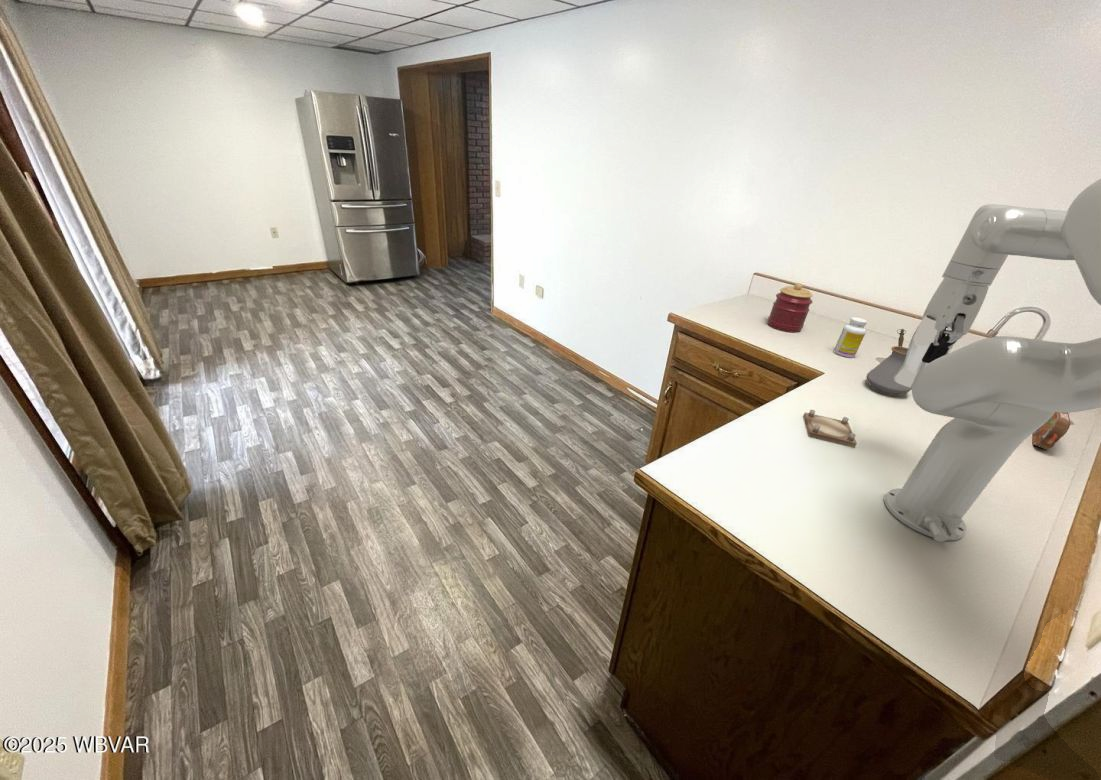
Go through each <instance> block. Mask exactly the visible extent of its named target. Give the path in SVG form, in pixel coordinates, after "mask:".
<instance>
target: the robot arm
mask: <svg viewBox="0 0 1101 780" xmlns="http://www.w3.org/2000/svg"><path fill="white" fill-rule="evenodd" d="M963 233H964V234H963V235H962V237H961V239H960V241H959V243H958V245H957V247H956V249H955V250H954V252H953V254H952V256H951V258H950V260H949V262H948V264H947V266H946V267H945V270H944V272H943V274H942V276H941V278H943V280H941V282H940V283H939V285H938V287H937V289H936V290H935V292H934V293H933V295H932V296H931V298H930V300H929V301H928V304H927V306H926V308H925V310H924V312H923V315H922V319H923V318H924V316H925V315H927V314H928V316H927V317H928V318H930V319H932V320H935V321H936V324H935V329H936V330H937V331H938V332H937V334H936V336H935V340H934V343H933V344H930V345H929V347H928V349H927V351H926V353H925V355H924V356H923V358H922V361H923V362H925V363H929V364H927V365H926V366H925V367H924V368H923V369H922V370H921V371H920V372H919V373H918V374H917V376H916V378H915V379H914V381H913V384H912V390H911V395H912V398H913V401H914V402H915V404H916V405H917V406H918V407H919V408H921V410H923V411H925V412H927V413H930V414H933V415H937V416H943V417H947V418H953V419H950V421H948V422H947V423H945V424H944V425H943V426H942V427H940V429H939V430H938V432H937V433H936V434H935V436H934V438H933V439H932V440H931V442H930V444H929V445H928V446H927V448H926V449H925V451H924V453H923V455H922V456H921V458H920V459H919V461H918V462H917V464H916V465H915V467H914V469H913V470H912V471H911V473H910V475H909V476H908V478H907V479H906V481H905V483H904V484H903V485H902V487H901V488H892V489H890V490H888V491H887V492H886V494H885V496H884V504H885V506H886V507H887V510H889V512H890V513H891V514H892V515H893V516H894V518H896V519H897V520H898V521H900V522H901V523H903V524H904V525H905V526H907V527H908V528H909V529H912V530H914V531H915V532H918V533H920V534H922V535H925V536H928V537H931V538H933V540H935V541H936V542H938V543H939V542H941V543H943V542H945V541H958V540H960V539H961V538H963V536H964V535H965V534H966V533H967V526H966V522H964V520H963V518H964V516H965V515H966V514H967V512H968V511H969V510H970V508H971V507H972V506H973V504H974V503H975V502H976V501H977V499H978V498H979V497H980V495H981V494H982V493H983V492H984V490H985V489H986V487H988V484H989V483H990V482H991V481H992V479H994V477H996V476H995V475H996V474H997V473H998V472H999V471H1000V469H1001V468H1002V467H1003V466H1004V464H1005V463H1006V462H1007V461H1008V459H1009V458H1010V457H1011V456H1012V455H1013V453H1014V452H1015V451H1016V450H1017V449H1018V448H1019V447H1020V446H1021V444H1022V443H1023V442H1025V440H1026V439H1028V438H1029V437H1030V436H1031V435H1032V433H1033V432H1035V431H1036V430H1037V429H1039V428H1040V427H1041V426H1042V425H1043V424H1045V423H1046V422H1047V421H1048V420H1049V419H1050V418H1051V417H1052V416H1053V415H1054V413H1055V412H1063V413H1069V414H1070V413H1079V412H1085V411H1089V410H1095V409H1099V408H1101V337H1098V338H1094V339H1091V340H1088V341H1083V342H1074V343H1070V342H1058V341H1057V342H1056V341H1050V340H1042V339H1035V338H1028V337H1020V336H1011V335H1009V336H1007V335H1006V336H1004V335H1003V336H1000V335H999V336H993V337H987V338H983V339H979V340H977V341H974V342H972V343H970V344H967V345H965V346H963V347H960V348H958V349H956V350H953V351H950V352H949V353H948V354H947V352H948V350H949V349H950V348H951V347H952V346H953V344H954V343H955V344H956V343H957V341H959V340H960V339H962V337H964V336H965V335H967V334H968V333H969V331H970V330H971V328H972V326H973V324H974V323H975V320H976V318H977V316H978V314H979V312H980V311H981V308H982V306H983V304H984V301H985V299H986V297H987V295H988V290H989V287H991V285H992V284H993V282H994V281H995V279H996V277H997V275H998V274H999V272H1000V270H1001V268H1003V266H1004V263H1005V261H1006V260H1007V258H1008V256H1021V257H1029V258H1036V259H1037V258H1038V259H1043V260H1045V259H1046V260H1054V261H1074V262H1075V264H1076V265H1077V268H1078V269H1079V270H1078V271H1079V272H1080V274H1081V277H1082V279H1083V282H1084V283H1085V284H1084V285H1085V286H1086V289H1087V291H1088V292H1089V293H1090V295H1091V297H1092V298H1093V300H1095V302H1096V303H1097V304H1098V305H1099V306H1101V178H1099V179H1098V180H1096V181H1094V182H1093V183H1091V184H1090V185H1088V186H1087V187H1085V188H1084V189H1083V190H1082V191H1081V192H1080V193H1078V195H1077V196H1076V197H1075V198H1074V199H1073V201H1072V202H1071V203H1070V205H1069V207H1068V209H1067V210H1058V209H1046V208H1034V207H1033V208H1031V207H1023V206H1017V205H1006V204H995V203H991V204H990V203H988V204H983V205H981V206H980V207H979V208H978V209H976V211H975V212H974V214H973V216H972V218H971V220H970V221H969V224H968V226H967V228H966V230H965V231H964V232H963ZM945 327H951V328H952V332H951V331H945V330H944V328H945ZM942 334H947V335H949V336H945V337H943V338H942V339H941V337H942ZM955 344H954V345H955ZM953 347H954V346H953ZM953 347H952V348H953Z"/></svg>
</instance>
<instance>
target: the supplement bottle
mask: <svg viewBox="0 0 1101 780" xmlns="http://www.w3.org/2000/svg"><path fill="white" fill-rule="evenodd" d="M867 323H868V321H867V320H866V319H864V318H862V317H861V318H860V317H855V316H852V317H851V318H850V320H849V324H845V325H844V326H843V329H842V330H841V332H840V335H839V337H838V339H837V341H836V344H835V346H834V349H833V352H834V353H835V354H837V355H838V356H841V357H845V358H855V356H856V355H857V353H858V351H859V348H860V346H861V344H862V341H863V339H864V337H865V336H866V334H867V330H866V328H865V326H866V325H867Z"/></svg>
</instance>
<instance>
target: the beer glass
mask: <svg viewBox="0 0 1101 780" xmlns="http://www.w3.org/2000/svg"><path fill="white" fill-rule="evenodd" d="M927 316H928V314H927V315H925V316H924V318H923V317H922V319H921V321H920V323H919V324H918V326H917V327H916V329H915V331H914V332H913V334H912V336H911V338H910V341H909V344H908V347H907V348H908V351H907V354H906V358H905V361H904V363H903V365H902V367H901V368H900V370H899V371H898V372H897V373H896V375H895V376H894V377H893V379H894V381H895V382H897V383H899V384H900V385H903V386H905V387H908V388H912V384H913V381H914V379H915V378H916V376H917V374H918V373H919V372H920V371H921V370H922V369H923V368H924V367H925V366H926V365H927V364H929V363H925V362H923V361H922V358H923V356H924V355H925V353H926V351H927V349H928V347H929V345H930V344H933V343H934V340H935V336H936V334H937V332H938V331H937V330H936V329H935V324H936V321H935V320H932V319H930V318H928V317H927ZM944 330H945V331H951V332H952V328H951V327H945V328H944ZM945 336H949V335H947V334H942V337H941V339H942V338H943V337H945ZM955 344H956V342H955V343H954V344H953V346H952V347H951V348H950V349H949V350H948V352H947V354H949V353H951V350H952V349H953V348H954V345H955Z"/></svg>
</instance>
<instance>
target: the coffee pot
mask: <svg viewBox="0 0 1101 780" xmlns="http://www.w3.org/2000/svg"><path fill="white" fill-rule="evenodd" d="M898 331H900V332H898ZM896 333H897V334H898V335H899V337H898V342H897V343H898V345H896V346H892V347H891V354H890V355H888V356H887V357H886V358H885V359H884V360H882V361H881V362H880V363H879V364H877V365H876V366H875V367H874V368H873V369H871V370H870V371H869V372H868V373H867V374H866V381H867V382H868V383H867V384H868V385H869V386H870V388H871V389H872V390H874V391H876V392H877V393H881V394H883V395H887V396H891V397H892V396H893V397H896V396H900V395H905V394H907V393H909V392H910V391H912V388H908V387H905V386H903V385H900V384H899V383H897V382H895V381H894V379H893V377H894V376H895V375H896V373H897V372H898V371H899V370H900V368H901V367H902V365H903V363H904V361H905V358H906V354H907V351H908V347H903V344H904V340H905V337H904V335H905V334H906V333H907V331H906V330H905V329H904V328H901V329H897V331H896Z"/></svg>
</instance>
